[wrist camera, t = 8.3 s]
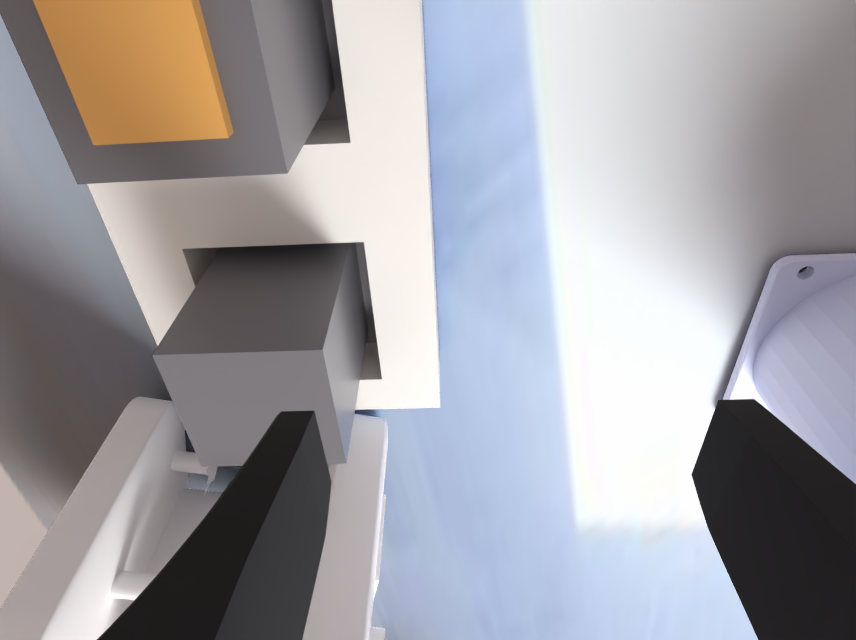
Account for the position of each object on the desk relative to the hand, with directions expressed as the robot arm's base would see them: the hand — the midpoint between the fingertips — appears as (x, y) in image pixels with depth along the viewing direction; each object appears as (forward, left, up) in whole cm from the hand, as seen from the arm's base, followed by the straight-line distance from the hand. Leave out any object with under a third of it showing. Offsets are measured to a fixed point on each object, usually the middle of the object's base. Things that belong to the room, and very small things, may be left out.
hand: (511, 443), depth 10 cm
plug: (+6, -6, -9) cm, 12 cm away
